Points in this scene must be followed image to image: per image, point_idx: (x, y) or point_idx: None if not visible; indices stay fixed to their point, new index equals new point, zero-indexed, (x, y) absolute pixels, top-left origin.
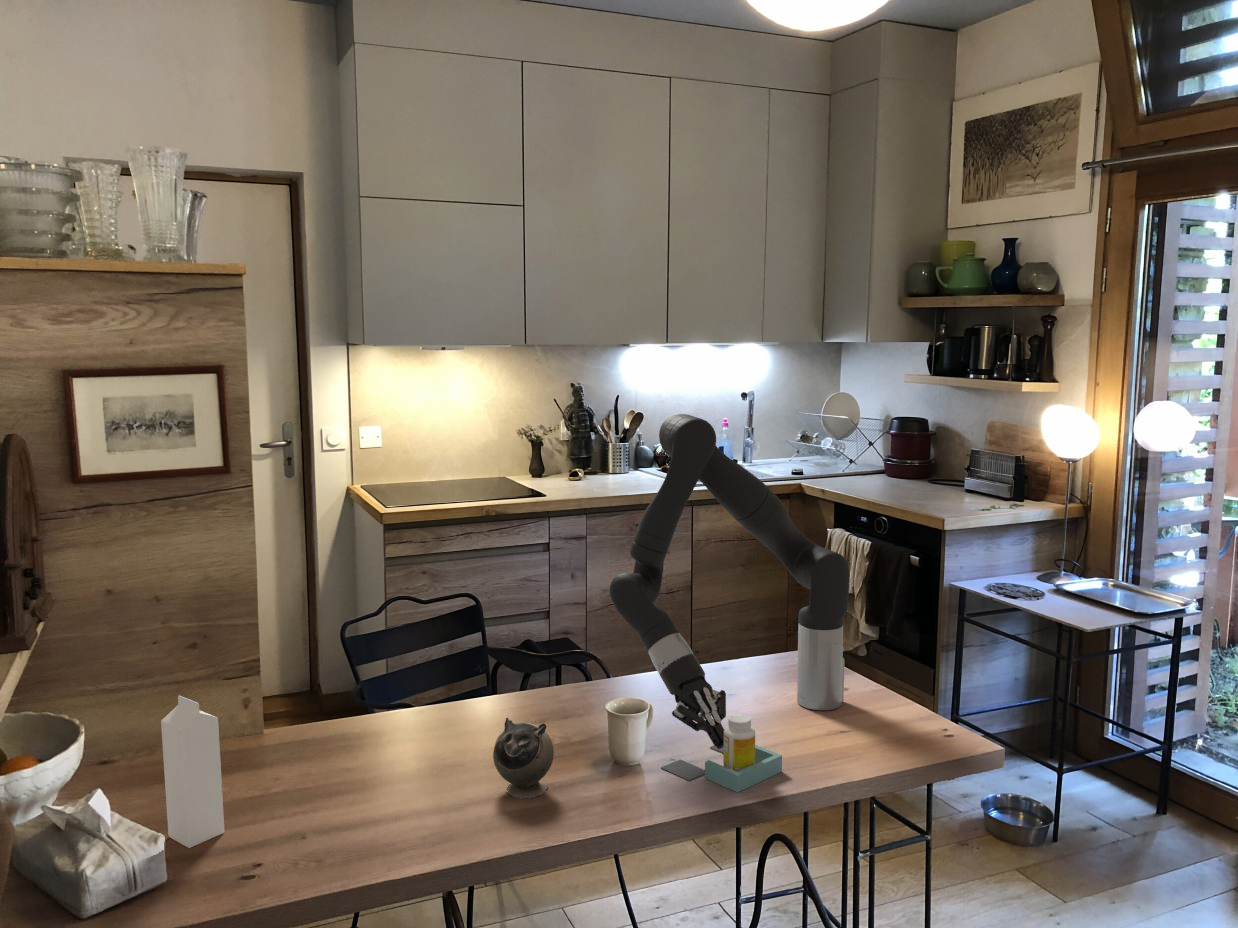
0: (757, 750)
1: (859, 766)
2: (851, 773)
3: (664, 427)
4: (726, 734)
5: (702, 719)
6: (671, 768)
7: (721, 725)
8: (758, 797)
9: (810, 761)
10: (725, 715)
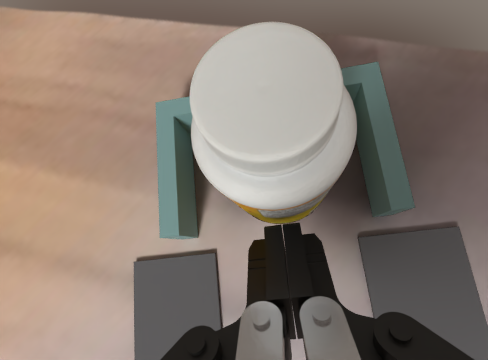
0: (179, 184)
1: (28, 55)
2: (68, 38)
3: None
4: (356, 131)
5: (404, 353)
6: (466, 342)
7: (250, 300)
8: (332, 46)
9: (79, 129)
10: (187, 334)
